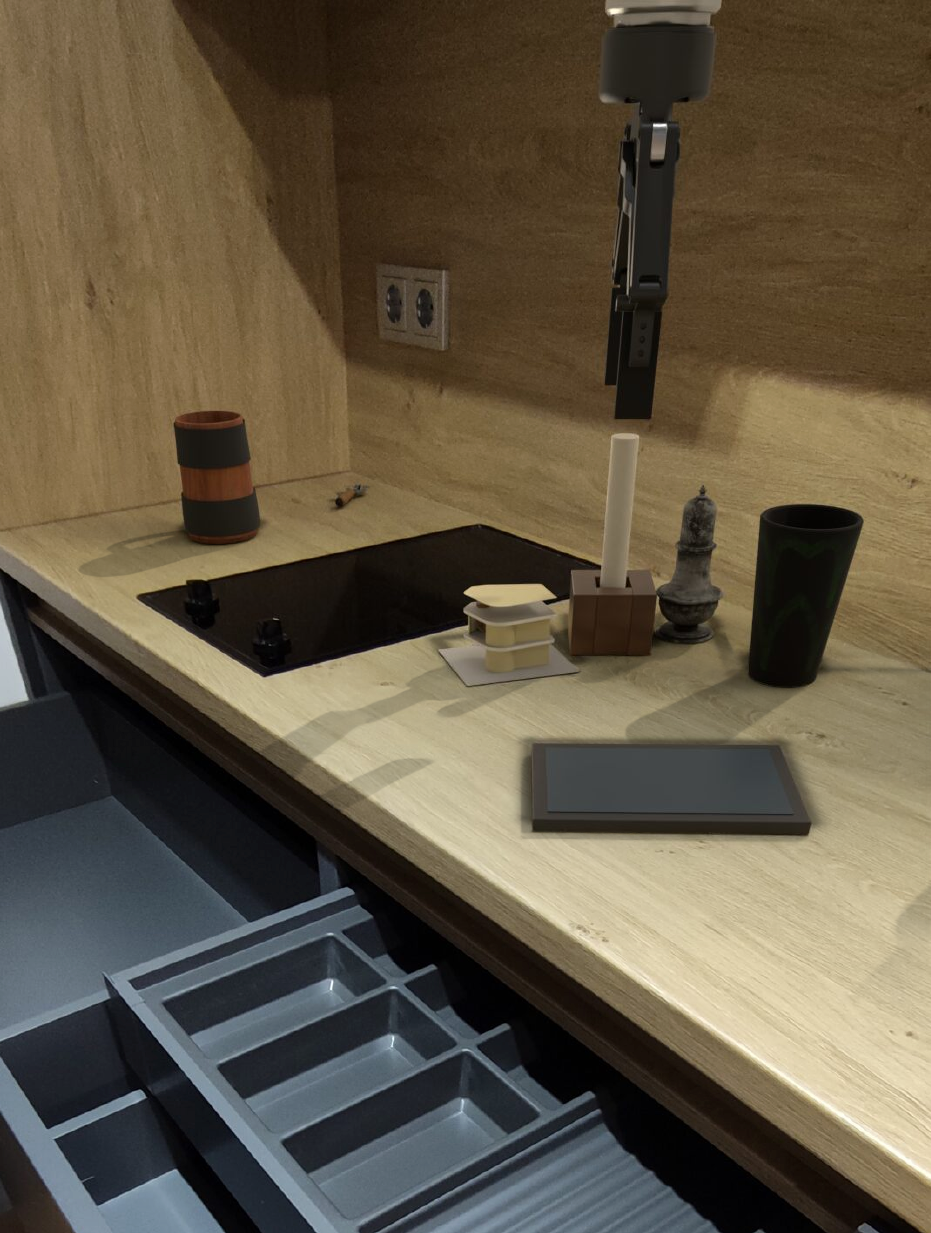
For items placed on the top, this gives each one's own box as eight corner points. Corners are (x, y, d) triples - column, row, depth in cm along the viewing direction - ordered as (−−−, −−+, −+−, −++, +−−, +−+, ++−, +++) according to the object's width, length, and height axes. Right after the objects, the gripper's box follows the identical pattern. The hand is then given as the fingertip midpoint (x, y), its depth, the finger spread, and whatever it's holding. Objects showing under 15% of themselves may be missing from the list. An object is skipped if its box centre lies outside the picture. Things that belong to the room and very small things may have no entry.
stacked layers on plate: (543, 637, 100) (546, 572, 97) (579, 672, 94) (584, 603, 90) (437, 650, 99) (436, 584, 95) (467, 686, 92) (467, 617, 88)
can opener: (343, 508, 135) (342, 497, 134) (325, 506, 136) (324, 496, 135) (371, 490, 141) (370, 480, 140) (354, 489, 142) (354, 479, 141)
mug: (230, 514, 134) (216, 401, 126) (274, 537, 126) (261, 418, 119) (163, 526, 131) (144, 410, 123) (204, 550, 123) (186, 428, 115)
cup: (735, 655, 96) (759, 502, 88) (826, 660, 95) (859, 505, 87) (734, 689, 91) (761, 528, 82) (831, 694, 89) (868, 531, 81)
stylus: (619, 636, 100) (638, 432, 90) (621, 645, 99) (640, 438, 88) (595, 636, 100) (610, 432, 90) (596, 645, 99) (612, 438, 88)
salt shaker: (640, 637, 100) (655, 488, 92) (669, 618, 104) (686, 473, 96) (700, 649, 97) (721, 497, 89) (727, 629, 101) (750, 481, 93)
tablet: (777, 756, 81) (780, 743, 80) (809, 834, 72) (812, 821, 71) (531, 754, 82) (531, 741, 81) (532, 831, 73) (532, 818, 73)
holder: (644, 627, 102) (650, 569, 98) (650, 655, 97) (657, 594, 93) (567, 627, 102) (571, 569, 99) (570, 654, 97) (573, 594, 94)
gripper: (594, 33, 82) (573, 372, 97) (614, 11, 64) (584, 434, 78) (696, 31, 82) (659, 372, 96) (745, 8, 64) (691, 434, 78)
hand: (625, 401), depth 87 cm, fingers open, 13 cm apart
